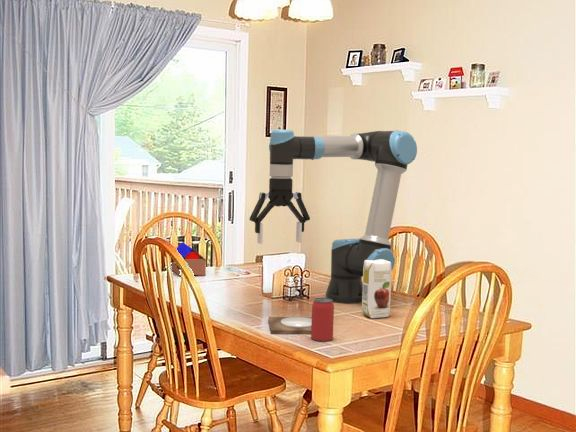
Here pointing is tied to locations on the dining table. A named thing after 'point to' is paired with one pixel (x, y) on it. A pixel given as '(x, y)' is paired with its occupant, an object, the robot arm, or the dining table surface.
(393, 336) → the dining table surface
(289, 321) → the ceramic disc
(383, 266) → the juice carton
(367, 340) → the dining table surface
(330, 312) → the beer can
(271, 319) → the walnut board
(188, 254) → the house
